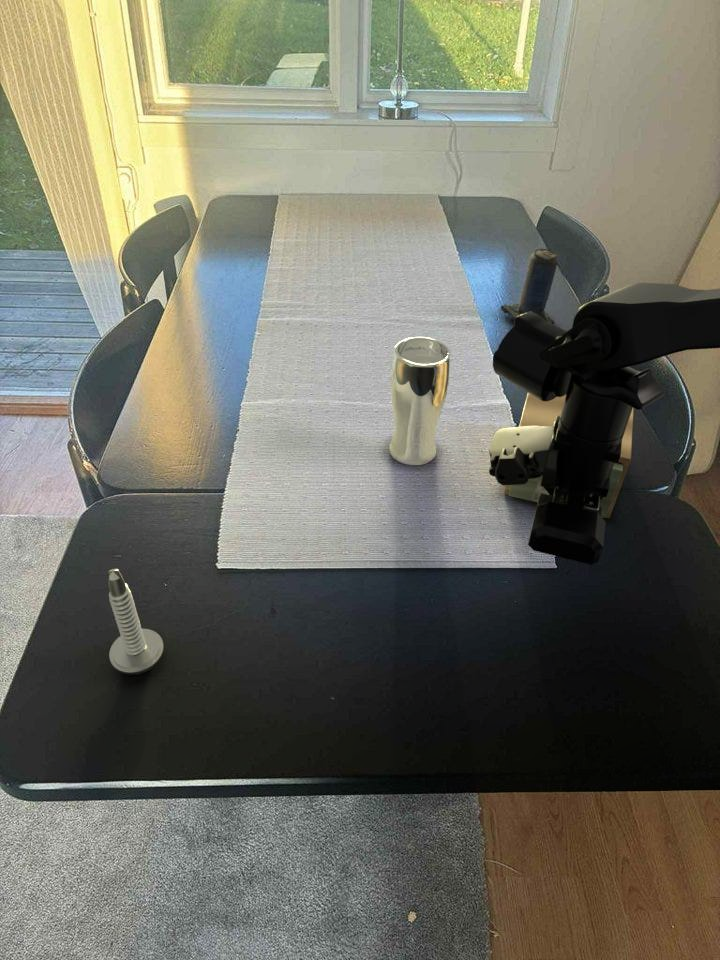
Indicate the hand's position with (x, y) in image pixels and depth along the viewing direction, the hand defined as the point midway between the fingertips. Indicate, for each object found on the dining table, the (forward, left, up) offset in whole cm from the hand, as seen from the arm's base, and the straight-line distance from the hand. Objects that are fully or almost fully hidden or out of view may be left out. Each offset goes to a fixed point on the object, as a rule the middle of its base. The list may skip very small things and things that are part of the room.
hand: (556, 544), depth 73 cm
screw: (+35, +25, -5) cm, 43 cm away
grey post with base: (+10, -57, -5) cm, 58 cm away
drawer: (0, -15, -3) cm, 15 cm away
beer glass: (+19, -15, -5) cm, 25 cm away
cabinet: (0, -18, -4) cm, 19 cm away
